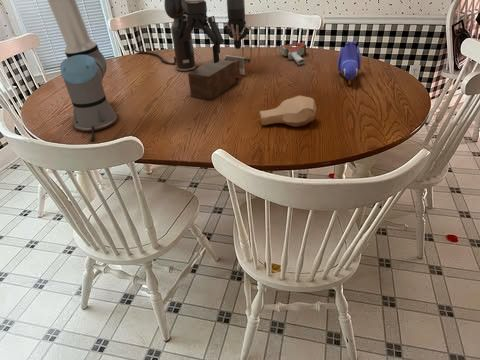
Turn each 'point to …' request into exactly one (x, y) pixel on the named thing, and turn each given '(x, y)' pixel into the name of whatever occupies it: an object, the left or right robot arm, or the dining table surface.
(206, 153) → the dining table surface
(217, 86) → the dark brown box
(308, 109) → the squash
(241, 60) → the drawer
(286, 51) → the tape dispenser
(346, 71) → the toy
